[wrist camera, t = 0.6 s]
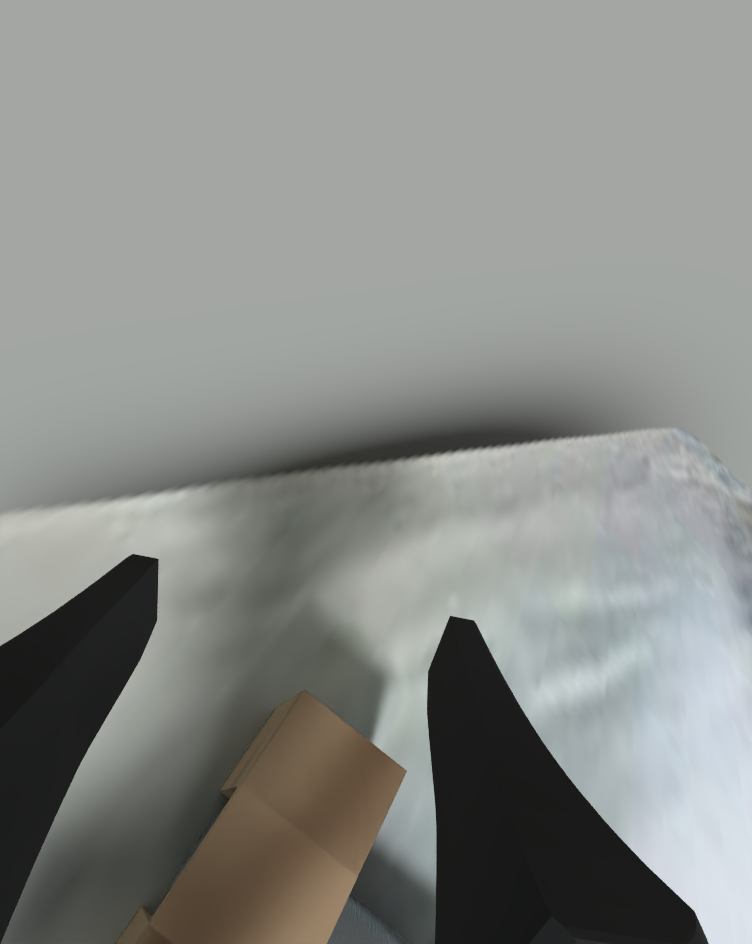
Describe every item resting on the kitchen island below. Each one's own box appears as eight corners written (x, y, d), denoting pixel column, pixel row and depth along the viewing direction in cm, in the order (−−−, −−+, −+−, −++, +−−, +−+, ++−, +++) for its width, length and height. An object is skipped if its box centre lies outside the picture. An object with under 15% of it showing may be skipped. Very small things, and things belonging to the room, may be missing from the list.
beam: (362, 778, 29) (406, 771, 25) (175, 1141, 20) (195, 1227, 16) (275, 709, 29) (304, 689, 25) (49, 1040, 20) (35, 1099, 16)
